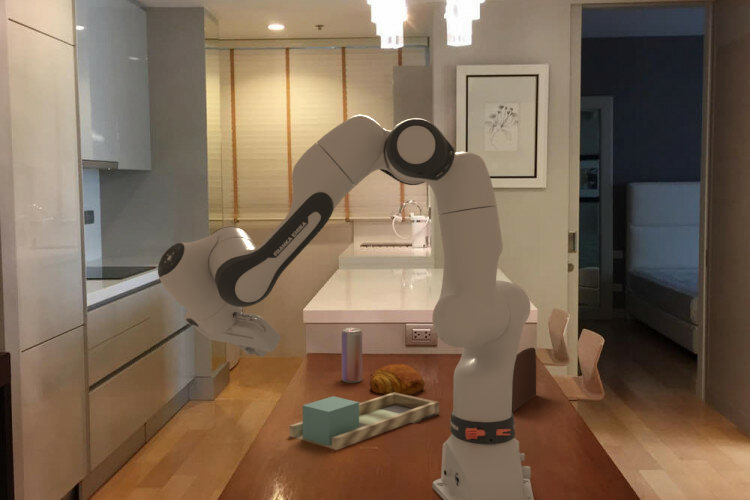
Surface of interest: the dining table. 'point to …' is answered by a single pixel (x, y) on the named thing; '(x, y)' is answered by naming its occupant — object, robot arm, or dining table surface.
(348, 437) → the trap lane
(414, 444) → the dining table surface
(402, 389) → the croissant
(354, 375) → the beverage can
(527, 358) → the letter holder
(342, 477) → the dining table surface
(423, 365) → the dining table surface
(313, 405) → the teal block
